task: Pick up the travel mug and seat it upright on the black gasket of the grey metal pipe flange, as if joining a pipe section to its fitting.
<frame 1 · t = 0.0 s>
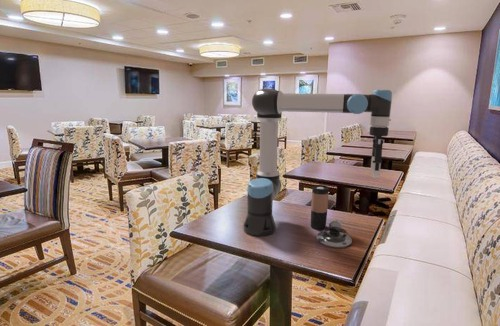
hand: (374, 174, 141), 28 cm above the table, fingers open, 13 cm apart
travel mug: (318, 227, 153), on the table
fitting: (333, 239, 139), on the table
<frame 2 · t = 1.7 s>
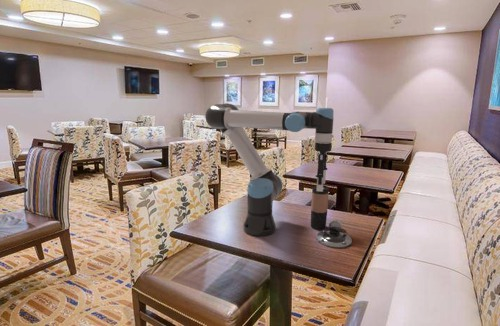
hand: (320, 187, 148), 20 cm above the table, fingers open, 13 cm apart
nothing on the table moved.
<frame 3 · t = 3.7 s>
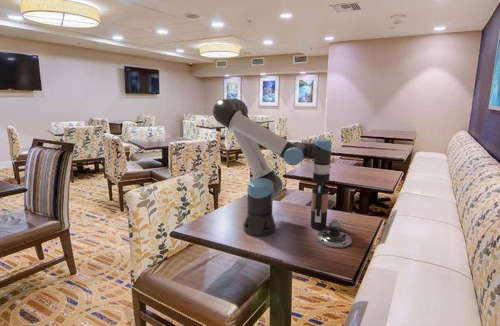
hand: (318, 218, 152), 4 cm above the table, fingers closed on travel mug, 8 cm apart
travel mug: (318, 227, 153), on the table, touching gripper
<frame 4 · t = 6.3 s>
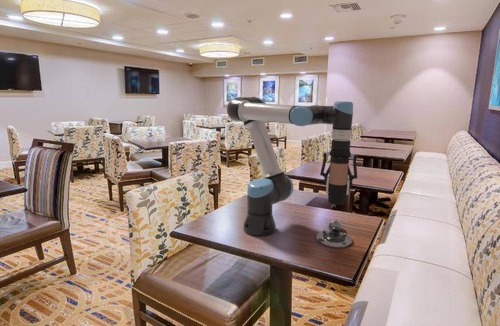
hand: (337, 192, 135), 22 cm above the table, fingers closed on travel mug, 8 cm apart
travel mug: (336, 202, 135), point 17 cm above the table, touching gripper
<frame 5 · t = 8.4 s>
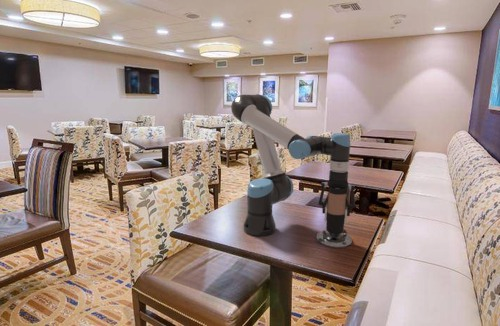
hand: (335, 221, 137), 9 cm above the table, fingers closed on travel mug, 8 cm apart
travel mug: (334, 231, 138), point 4 cm above the table, touching gripper
when the fingers open (7 cm above the table, at t = 9.3 s): travel mug drops 1 cm, resting on fitting.
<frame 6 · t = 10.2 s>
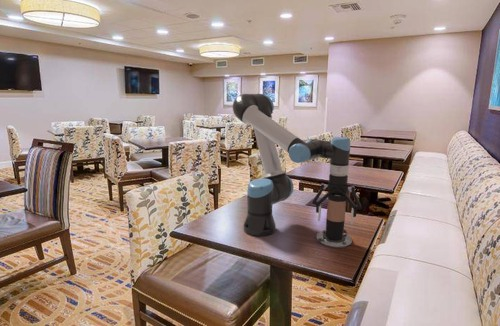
hand: (335, 221, 137), 9 cm above the table, fingers open, 13 cm apart
travel mug: (334, 237, 139), point 1 cm above the table, touching fitting
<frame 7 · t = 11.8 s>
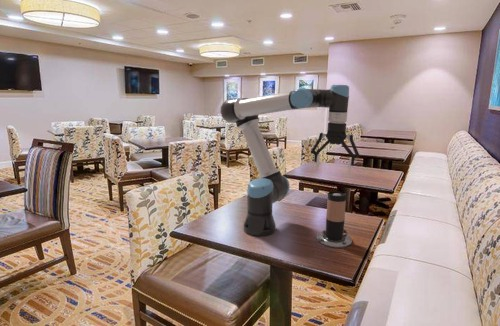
hand: (333, 171, 138), 30 cm above the table, fingers open, 13 cm apart
nothing on the table moved.
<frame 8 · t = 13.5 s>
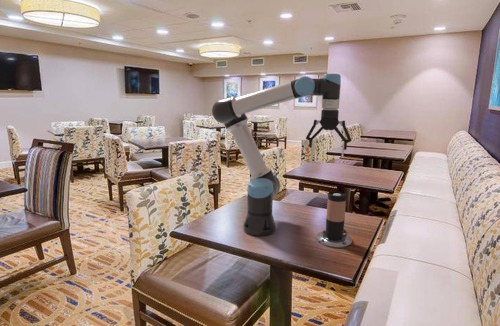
hand: (327, 155, 147), 35 cm above the table, fingers open, 13 cm apart
nothing on the table moved.
at the end: travel mug 0.0 cm off-centre on the fitting, point 1.1 cm above the fitting's base; travel mug tilted 0°; travel mug touching fitting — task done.
